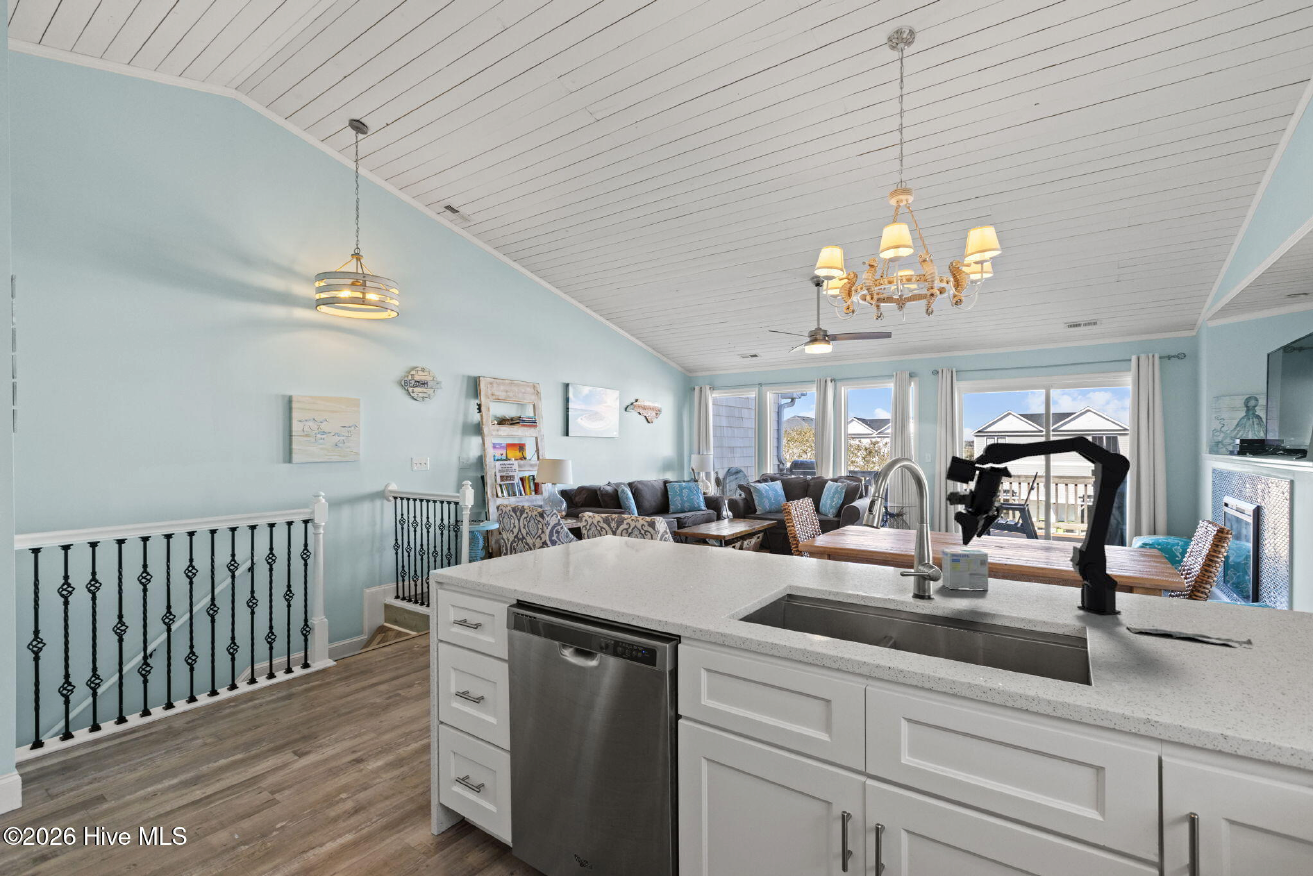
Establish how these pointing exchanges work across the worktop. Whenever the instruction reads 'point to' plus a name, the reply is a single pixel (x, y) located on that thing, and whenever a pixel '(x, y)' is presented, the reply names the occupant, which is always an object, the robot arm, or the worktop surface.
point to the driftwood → (1192, 636)
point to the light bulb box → (965, 569)
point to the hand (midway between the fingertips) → (971, 541)
